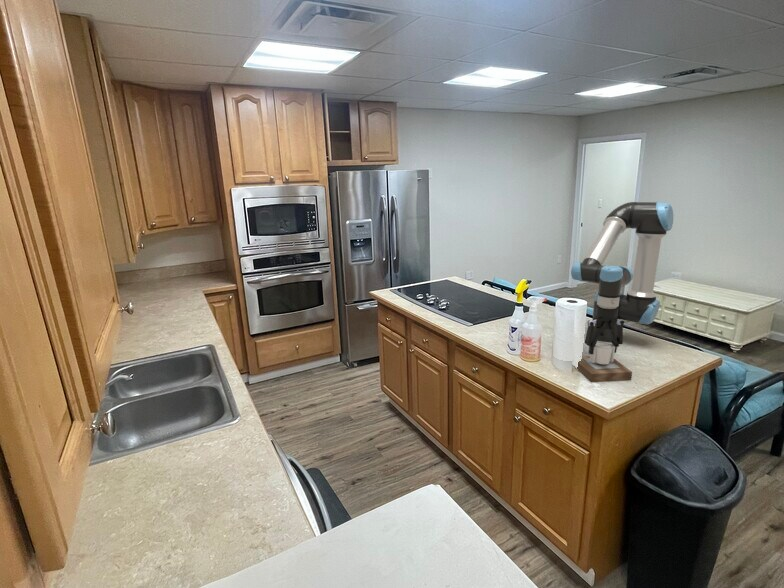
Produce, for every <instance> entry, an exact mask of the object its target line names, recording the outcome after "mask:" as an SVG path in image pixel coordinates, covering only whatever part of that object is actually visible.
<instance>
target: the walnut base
mask: <svg viewBox="0 0 784 588" xmlns="http://www.w3.org/2000/svg"><path fill="white" fill-rule="evenodd" d="M577 369H578V370H577ZM577 369H576V370H577V371H578V372H579V373H580V374H581V375H582V376H583V377H585V379H586V380H588V381H589V382H590V383H600V382H601V383H605V382H619V381H620V382H621V381H622V382H623V381H632V377H633V371H632V370H631V369H629V368H628V367H626V366H625V365H624V364H622V363H621V362H619V361H618V360H617V359H616V358H614V361H613V362H611V361H609V364H598V363H596V362H595V363H593V362H592V361H590V355H586V356H585V355H583V356H582V359H581V361H579V362H578V367H577Z"/></svg>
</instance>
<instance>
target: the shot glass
mask: <svg viewBox="0 0 784 588" xmlns="http://www.w3.org/2000/svg"><path fill="white" fill-rule="evenodd" d="M610 344H611V343H609V342H604V341H599V342H598V341H597V343H596V345H595V347H597V348H596V358H595V362H596V363H598V364H609V361H610V357H611V353H612V348H613V346H612V345H610Z"/></svg>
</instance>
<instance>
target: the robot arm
mask: <svg viewBox="0 0 784 588" xmlns="http://www.w3.org/2000/svg"><path fill="white" fill-rule="evenodd" d="M673 224H674V210H673V207H672V205H671V204H670V203H668V202H660V201H657V202H656V201H655V202H654V201H653V202H650V201H649V202H648V201H647V202H646V201H645V202H642V201H640V202H639V201H629V202H627V203H626V202H625V203H623V204H621V205H619V206H617V207H615V208H614V209H613V210H612V211H611V212H610V213H608V214H607V216H606V217H605V219H604V221H603V223H602V226H603V227H602V228H601V230H600V232H599V234H598V235H597V237H596V239H595V241H594V242H593V243H592V246H591V247H590V249H589V250H588V252H587V254H586V256H585V257H584V259H583V261H581V262H574V263H573V264H572V266H571V270H570V274H571V278H572V279H573V280H575V281H580V282H586V283H591V284H592V283H593V284H598V291H597V292H596V293H595V294H594V299H593V301H594V303H593V309H592V320H587V329H586V334H585V339H584V344H585V345H587V346H588V354H589V356H590V361H592V362H593V363H595V358H596V348H597V347H595V345H596V343H597V342H598V341H599V342H605V343H609V344H610V345H612V346H613V348H612V353H611V357H610V361H611V362H613V361H614V359H615V354H616V353H617V351H618V350H617V349H618V347H620V345H623V343H624V342H623V341H624V334H623V333H624V332H623V331H624V324H625V321H627V322H632V323H638V324H644V325H650V324H652V323H653V322H654V321H655V319H656V317H657V314H658V313H659V309H660V304H661V301H660V300H659V299H657V294H656V293H655V292H654V288H655V282H656V281H655V280H656V275H657V270H658V269H657V268H658V262H659V261H658V260H659V256H660V249H661V242H662V238H663V237H666V236H667V232H668V231H672V228H673ZM627 229H632V230H633V229H635V235H636V236H638V240H637V247H636V254H635V261H634V269H633V270H632V268H630V267H628V266H626V265H621V266H617V265H604V263H605V261H606V259H607V257H608V256H609V254H610V253H611V250H612V249H613V247H614V246H615V244H616V242H617V240H618V238H619V236H620V235H621V234H623V233H624V232H625V231H626V230H627ZM631 281H632V283H631ZM630 283H631V289H629V290H628V291H627V292H626V294H624V292H623V290H621V289H622V288H623V287H624V286H626V285H628V284H630Z"/></svg>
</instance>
